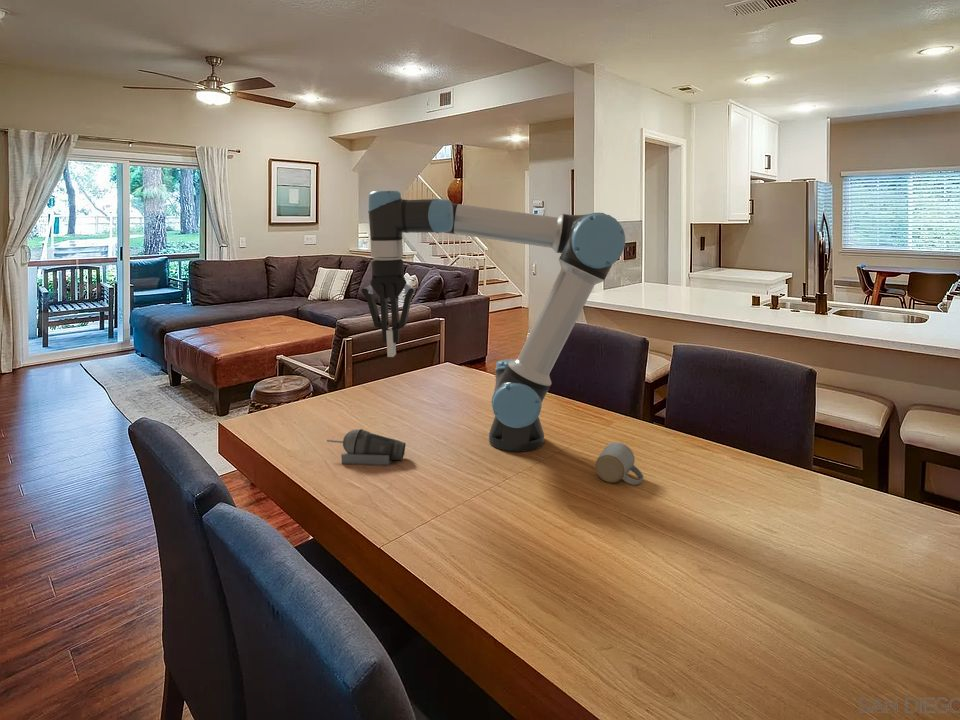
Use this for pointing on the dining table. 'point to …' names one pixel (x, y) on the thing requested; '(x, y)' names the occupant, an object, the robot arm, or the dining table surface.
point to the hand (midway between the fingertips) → (391, 355)
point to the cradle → (365, 459)
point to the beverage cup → (372, 444)
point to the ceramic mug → (617, 464)
